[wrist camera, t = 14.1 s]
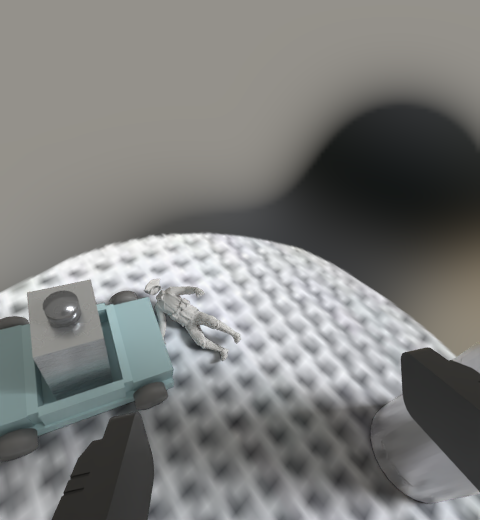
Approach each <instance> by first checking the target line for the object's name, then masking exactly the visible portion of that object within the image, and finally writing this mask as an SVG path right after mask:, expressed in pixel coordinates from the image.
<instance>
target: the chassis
mask: <svg viewBox="0 0 480 520" xmlns="http://www.w3.org/2000/svg"><path fill="white" fill-rule="evenodd" d="M97 310H98V314H99V318H100V323H101V327H102V331H103V336H104V340H105V345H106V350H107V355H108V360H109V365H110V370H111V375H112V380H113V383H110V384H107V385H104V386H101V387H98V388H95V389H91V390H88V391H85V392H82V393H79V394H76V395H73V396H70V397H67V398H64V399H61V400H58V401H57V400H56V398H55V396H54V395H53V393H52V391H51V389H50V388H49V386H48V384H47V382H46V380H45V379H44V377H43V375H42V373H41V372H40V370H39V368H38V366H37V365H36V363H35V361H34V359H33V356H32V344H31V332H30V324H29V322H28V320H27V319H25V318H23V317H17V316H13V317H6V318H3V319H0V462H3V461H9V460H13V459H17V458H20V457H23V456H25V455H27V454H29V453H31V452H33V451H34V450H36V449H37V448H38V436H39V435H42V434H45V433H48V432H51V431H53V430H56V429H59V428H62V427H64V426H67V425H70V424H73V423H75V422H78V421H81V420H84V419H86V418H89V417H92V416H95V415H97V414H100V413H103V412H106V411H108V410H111V409H114V408H117V407H119V406H122V405H125V404H128V403H130V402H133V401H135V405H136V409H138V410H144V409H149V408H152V407H154V406H156V405H158V404H160V403H162V402H163V401H165V400H166V399H167V397H168V395H167V391H166V389H169V388H172V387H173V385H174V381H173V378H172V377H173V367H172V364H171V361H170V358H169V355H168V352H167V349H166V346H165V343H164V340H163V337H162V334H161V331H160V328H159V325H158V322H157V320H156V317H155V314H154V311H153V308H152V305H151V302H150V299H149V297H146V298H142V299H137V296H136V294H135V293H134V292H132V291H122V292H119V293H117V294H115V295H114V296H112V297H111V299H110V305H107V306H105V303H102V304H97Z"/></svg>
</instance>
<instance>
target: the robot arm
mask: <svg viewBox="0 0 480 520" xmlns="http://www.w3.org/2000/svg"><path fill="white" fill-rule="evenodd" d="M401 372H402V391H403V394H401V395H400V396H398V397H397V398H395V399H394V400H392V401H391V402H390V403H388V404H387V405H385V406H384V407H382V408H381V409H380V410H379V411H378V412H377V413H376V415H375V416H374V418H373V421H372V425H371V442H372V448H373V451H374V454H375V457H376V459H377V461H378V463H379V465H380V467H381V469H382V470H383V472H384V473H385V475H386V476H387V477H388V479H389V480H390V481H391V482H392V483H393V484H394V485H395V486H396V487H397V488H398V489H399V490H400V491H402V492H403V493H404V494H406V495H407V496H409V497H411V498H413V499H415V500H417V501H420V502H424V503H438V502H443V501H447V500H452V499H456V498H461V497H467V496H471V495H476V494H480V341H479V342H477V343H476V344H474V345H473V346H472V347H470V348H469V349H468V350H466V351H465V352H463V353H462V354H461V355H459V356H457V357H456V358H454V359H453V360H449V361H448V360H447V359H445V358H444V357H442V356H441V355H440V354H438V353H437V352H435V351H434V350H433V349H431V348H423V349H418V350H414V351H409V352H405V353H403V354H402V356H401ZM70 477H71V479H70V480H69V481H68V483H67V486H66V488H65V490H64V496H62V497H61V500H60V502H59V504H58V506H57V509H56V511H55V513H54V516H53V518H52V520H148V513H149V507H150V500H151V493H152V487H153V479H154V464H153V457H152V452H151V449H150V445H149V442H148V438H147V435H146V431H145V427H144V424H143V420H142V417H141V414H140V413H139V412H134V413H129V414H125V415H120V416H116V417H112V418H111V419H110V420H109V423H108V425H107V428H106V431H105V433H104V436H103V439H101V440H96V441H93V442H92V443H91V444H90V445H89V446H88V447H87V449H86V450H85V451H84V452H83V453H82V455H81V456H80V457H79V458H78V460H77V463H76V465H75V467H74V470H73V472H72V474H71V476H70Z"/></svg>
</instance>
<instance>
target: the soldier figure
mask: <svg viewBox="0 0 480 520" xmlns="http://www.w3.org/2000/svg"><path fill="white" fill-rule="evenodd" d="M159 281H160V279H153V280H151V281H150V282H149V283H148V284H147V285H146V288H145V290H144V291H145V293H148V294H149V295H150V294H151V295H155V294H156V293H158V291H159V290H160V288H161V286H160V285H159ZM161 289H162V288H161ZM201 292H202V293H201ZM194 293H196V296H197V297H198V294H199V295H200V294H201V295H202V294H203V295H204V294H205V293H204V291H203V290H202V289H199V288H198V287H190V286H187V287H169V288H168V289H166V290H165V291H163V290H161V291H160V292H159V294H158V295H157V296H156V299H157V303H156V305H155V309H156V312H157V317H158V322H159V324H158V325H159V328H160V331H161V334H162V337H163V340H164V336H165V330H166V313H167V314H168V315H169V317H170V318H171V319H172V320H173V321H174V322H175V321H176V322H178V323H179V324H181V325H182V326H183V327H185V328H186V329H187V331H188V333H189V334H190V336H191V337H192V339H193V340H194V341H195V343H196V344H197V345H199V346H201V347H202V348H203V349H204V348H207V349H211V350H214V351H217V352H220V354H221V360H222V361H224V360H225V359H226V358H227V356H228V355H227V353H228V349H226V348H223V347H221V346H219V345H217V344H215V343H213V342H212V341H210V340H208V339H207V338H206V337H205V336H204V334H203V332H202V330H201V328H200V325H205V326H208V327H210V328H212V329H217V330H220V331H223V332H225V333H228V334H230V335H232V337H233V339H234V341H235V343H236V344H237V343H238V342H239V341H240V340H241V338H240V334H239V333H237V332H235V331H233V330H232V329H231V328H229V327H228V326H227V325H226V324H224V323H222V322H221V321H219V320H217V319H216V318H215V317H214V316H210V315H207V314H205V313H203V312H200V311H198V309H197V308H196V307H194V306H192V305H190V304H189V303H190V302H189V301H188V300H186V299H185V298H184V299H183V300H182V298H181V297H180V296H179V295H184V294H189V295H190V294H194ZM201 295H200V296H201ZM198 298H199V297H198ZM164 343H165V341H164ZM165 344H166V343H165Z"/></svg>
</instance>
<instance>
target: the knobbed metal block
mask: <svg viewBox="0 0 480 520" xmlns="http://www.w3.org/2000/svg"><path fill="white" fill-rule="evenodd" d="M27 298H28V309H29V321H30V332H31V344H32V356H33V359H34V361H35V363H36V365H37V366H38V368H39V370H40V372H41V373H42V375H43V377H44V379H45V380H46V382H47V384H48V386H49V388H50V389H51V391H52V393H53V395H54V396H55V398H56V400H57V401H58V400H61V399H64V398H67V397H70V396H73V395H76V394H79V393H82V392H85V391H88V390H91V389H95V388H98V387H101V386H104V385H107V384H110V383H113V380H112V375H111V370H110V365H109V360H108V355H107V350H106V345H105V340H104V336H103V331H102V327H101V323H100V318H99V314H98V310H97V305H96V301H95V297H94V292H93V288H92V283H91V280H86V281H81V282H77V283H72V284H67V285H62V286H57V287H52V288H47V289H42V290H38V291H33V292H28V293H27Z"/></svg>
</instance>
